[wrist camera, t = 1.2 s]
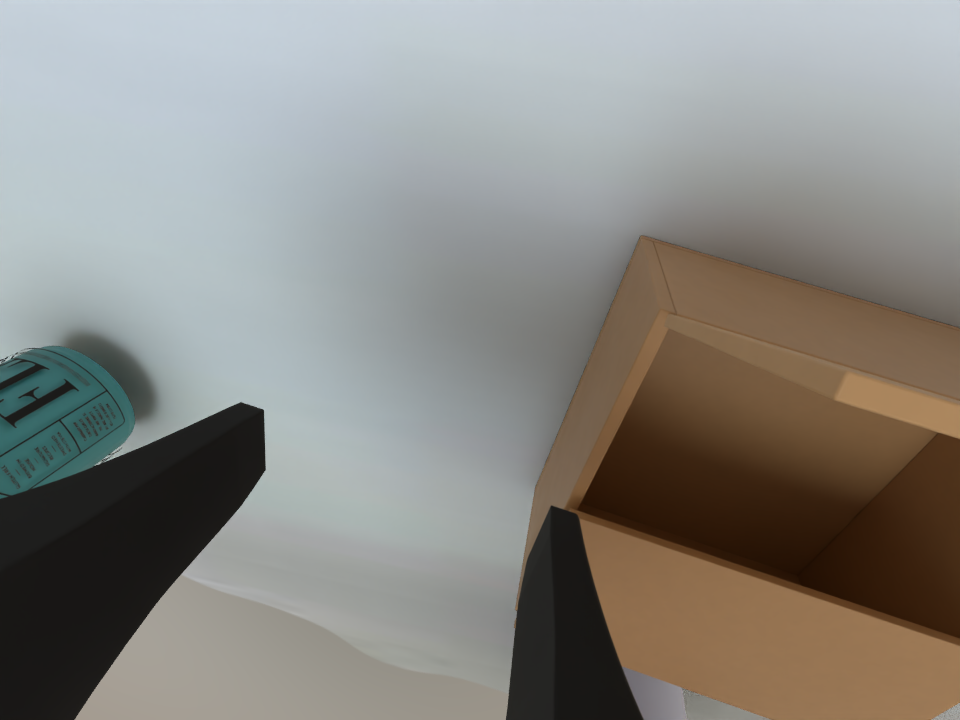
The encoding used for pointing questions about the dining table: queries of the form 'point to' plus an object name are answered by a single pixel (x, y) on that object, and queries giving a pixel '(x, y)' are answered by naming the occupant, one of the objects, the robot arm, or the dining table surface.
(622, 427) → the carton
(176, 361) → the dining table surface
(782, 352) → the flap
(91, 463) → the beverage bottle
